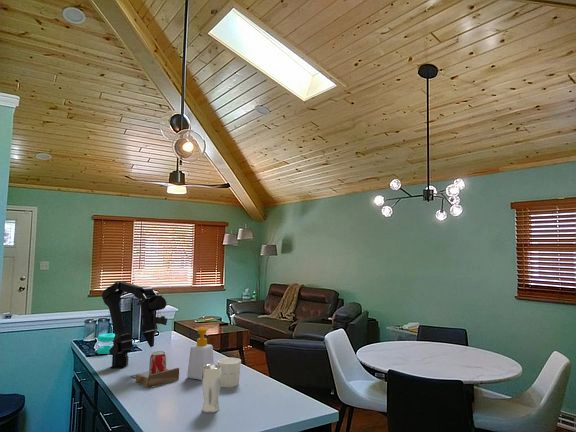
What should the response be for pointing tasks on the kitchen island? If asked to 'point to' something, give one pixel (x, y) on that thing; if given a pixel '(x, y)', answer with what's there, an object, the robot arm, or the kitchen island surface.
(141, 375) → the mat
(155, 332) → the robot arm
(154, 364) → the soda can
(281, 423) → the kitchen island surface
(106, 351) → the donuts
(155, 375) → the shelf lane
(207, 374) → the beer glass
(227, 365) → the cup
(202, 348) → the soap bottle
